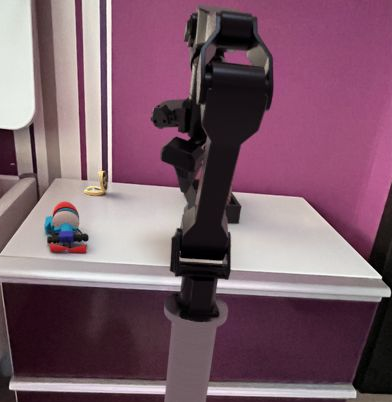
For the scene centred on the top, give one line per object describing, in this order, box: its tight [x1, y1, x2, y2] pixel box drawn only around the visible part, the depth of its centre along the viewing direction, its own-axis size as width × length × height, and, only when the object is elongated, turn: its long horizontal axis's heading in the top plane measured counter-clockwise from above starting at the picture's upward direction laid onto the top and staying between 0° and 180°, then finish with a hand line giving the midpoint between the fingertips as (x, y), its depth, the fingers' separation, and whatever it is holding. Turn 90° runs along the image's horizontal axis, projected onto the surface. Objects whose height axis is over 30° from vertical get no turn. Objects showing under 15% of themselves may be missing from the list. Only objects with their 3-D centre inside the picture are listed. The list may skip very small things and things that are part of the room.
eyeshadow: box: [83, 170, 109, 197], centre depth 125 cm, size 4×5×5 cm
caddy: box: [183, 178, 242, 224], centre depth 124 cm, size 9×18×4 cm, turn 10°
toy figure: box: [44, 201, 89, 254], centre depth 103 cm, size 8×5×15 cm
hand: (195, 180), depth 101 cm, fingers open, 9 cm apart
